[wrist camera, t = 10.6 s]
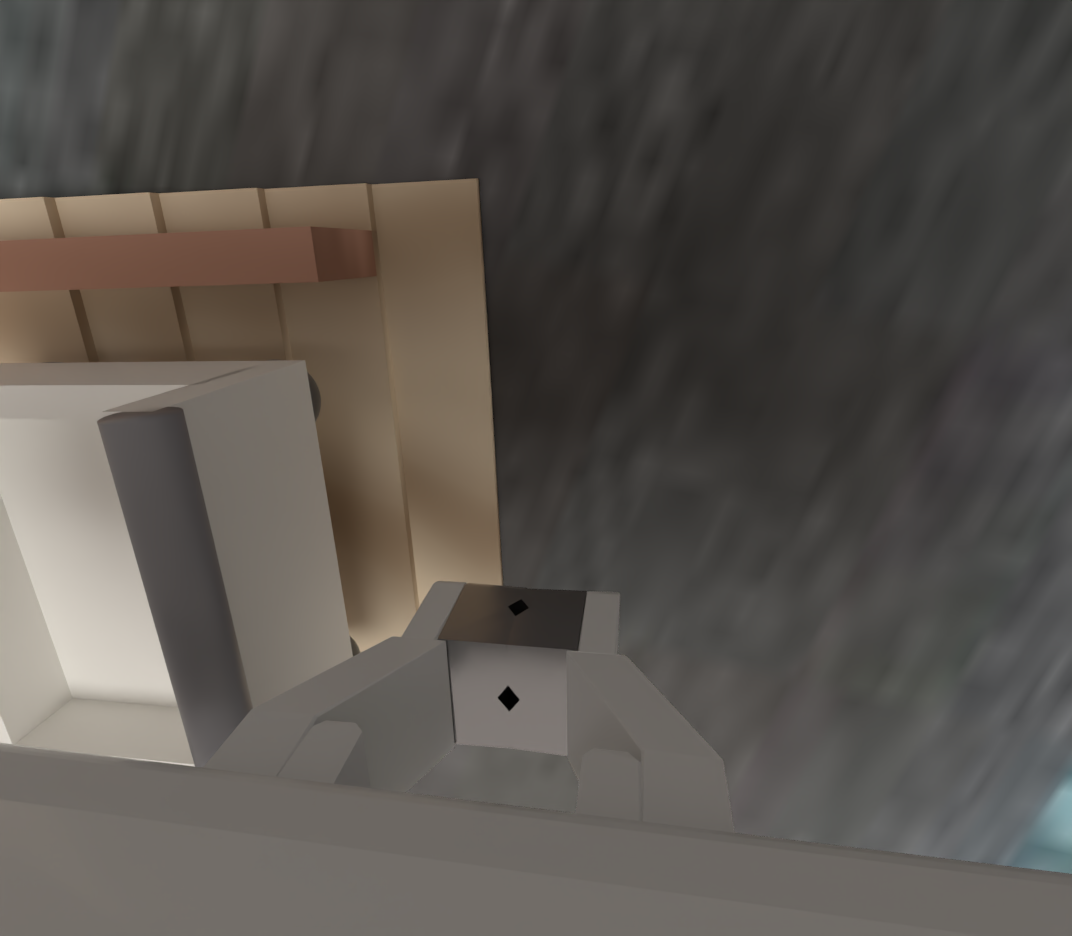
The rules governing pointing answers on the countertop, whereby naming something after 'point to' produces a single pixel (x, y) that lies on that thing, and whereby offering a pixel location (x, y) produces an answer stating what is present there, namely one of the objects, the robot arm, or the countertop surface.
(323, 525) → the white tray with rod
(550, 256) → the countertop surface
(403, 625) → the dock
